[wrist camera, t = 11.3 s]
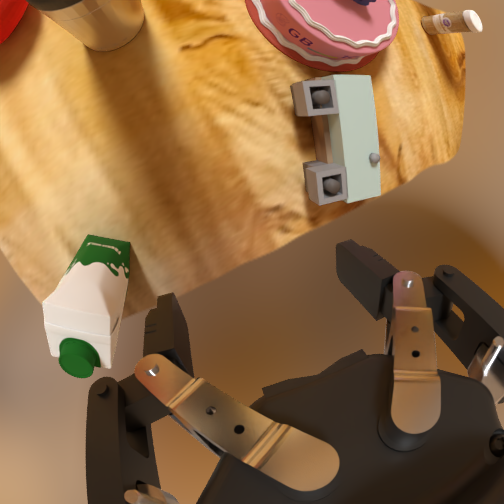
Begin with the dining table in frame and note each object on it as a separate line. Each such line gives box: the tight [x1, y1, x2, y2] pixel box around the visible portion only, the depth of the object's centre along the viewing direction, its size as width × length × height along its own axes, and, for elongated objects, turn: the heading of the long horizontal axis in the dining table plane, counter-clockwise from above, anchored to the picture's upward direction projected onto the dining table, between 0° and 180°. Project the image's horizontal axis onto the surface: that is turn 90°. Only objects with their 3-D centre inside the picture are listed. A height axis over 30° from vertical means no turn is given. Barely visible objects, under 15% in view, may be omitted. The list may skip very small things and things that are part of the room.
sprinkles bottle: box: [421, 10, 482, 35], centre depth 26 cm, size 5×4×13 cm
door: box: [292, 75, 381, 206], centre depth 34 cm, size 18×11×4 cm, turn 11°
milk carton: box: [42, 235, 130, 378], centre depth 30 cm, size 9×9×20 cm
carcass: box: [290, 77, 340, 194], centre depth 36 cm, size 18×10×7 cm, turn 11°
